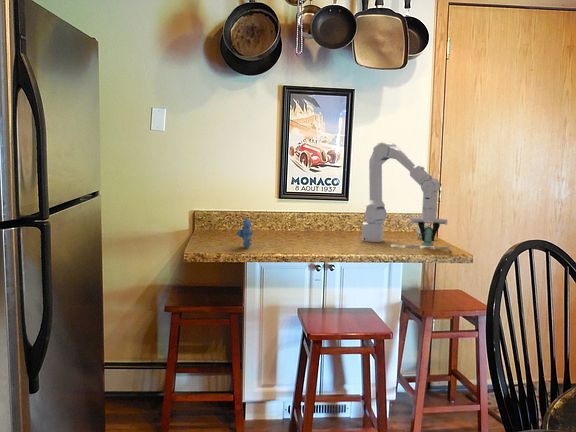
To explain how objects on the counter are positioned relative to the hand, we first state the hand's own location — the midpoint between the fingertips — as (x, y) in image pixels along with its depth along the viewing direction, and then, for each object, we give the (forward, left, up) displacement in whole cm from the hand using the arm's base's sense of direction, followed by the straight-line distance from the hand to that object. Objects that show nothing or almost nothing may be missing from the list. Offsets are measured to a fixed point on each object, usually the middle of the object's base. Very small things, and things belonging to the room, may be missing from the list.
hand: (427, 240), depth 220 cm
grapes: (-74, -16, -4) cm, 76 cm away
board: (-3, 0, -4) cm, 5 cm away
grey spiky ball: (0, +23, -4) cm, 23 cm away
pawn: (0, 0, -2) cm, 2 cm away
